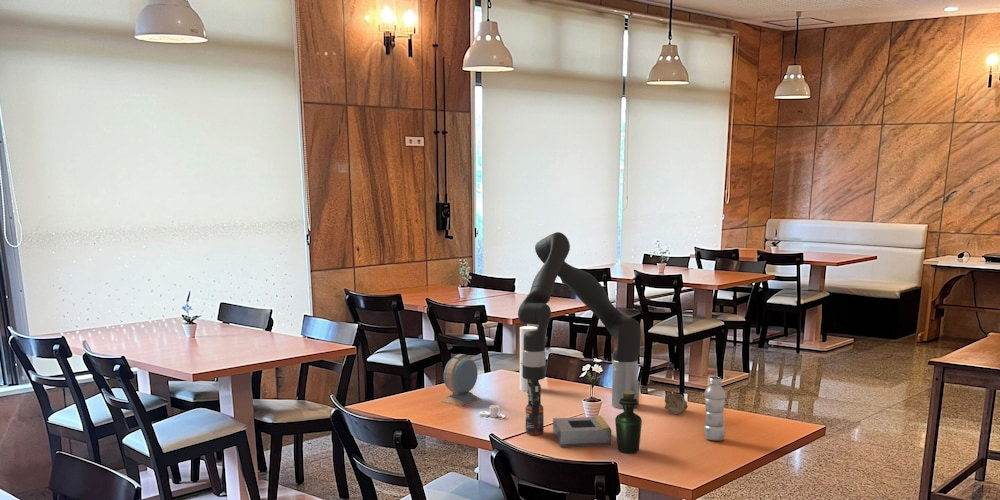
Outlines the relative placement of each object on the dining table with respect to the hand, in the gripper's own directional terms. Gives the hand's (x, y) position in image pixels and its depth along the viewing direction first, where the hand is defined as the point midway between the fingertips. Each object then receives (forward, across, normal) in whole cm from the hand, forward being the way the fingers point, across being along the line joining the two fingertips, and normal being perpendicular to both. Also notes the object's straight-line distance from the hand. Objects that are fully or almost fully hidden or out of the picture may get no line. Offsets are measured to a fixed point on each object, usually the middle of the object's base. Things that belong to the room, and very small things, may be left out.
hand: (533, 412), depth 252 cm
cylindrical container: (+7, +57, -6) cm, 58 cm away
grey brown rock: (+7, +19, -54) cm, 58 cm away
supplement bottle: (+7, 0, 0) cm, 7 cm away
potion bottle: (+7, -20, -26) cm, 34 cm away
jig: (+7, -8, -14) cm, 18 cm away
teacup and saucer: (+8, +23, +12) cm, 27 cm away
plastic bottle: (+7, -13, -56) cm, 58 cm away
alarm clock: (+7, +43, +22) cm, 48 cm away
